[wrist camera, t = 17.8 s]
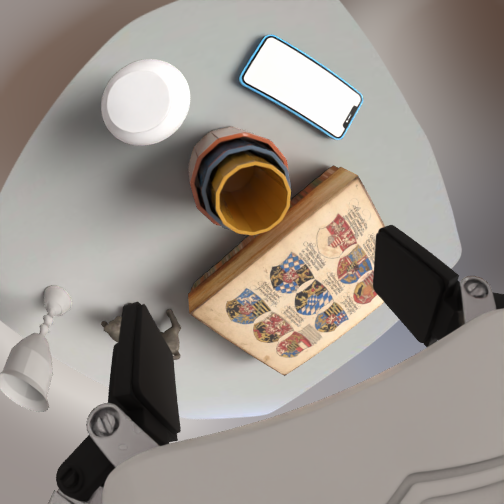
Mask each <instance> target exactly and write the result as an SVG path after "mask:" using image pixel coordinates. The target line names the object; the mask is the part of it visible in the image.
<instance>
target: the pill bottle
mask: <svg viewBox="0 0 504 504" xmlns="http://www.w3.org/2000/svg"><path fill="white" fill-rule="evenodd" d="M189 106H190V91H189V87H188V84H187V81H186V79H185V78H184V76H183V75H182V73H181V72H180V71H179V70H178V69H177V68H175V67H174V66H173V65H171V64H169V63H167V62H164V61H161V60H156V59H144V60H139V61H135V62H132V63H130V64H128V65H126V66H125V67H123V68H122V69H120V70H119V71H118V72H117V73H116V74H115V75H114V76H113V77H112V78H111V79H110V81H109V82H108V84H107V86H106V88H105V90H104V93H103V96H102V101H101V112H102V117H103V120H104V123H105V125H106V127H107V128H108V130H109V131H110V132H111V133H112V134H113V135H114V136H115V137H116V138H117V139H119V140H121V141H123V142H125V143H127V144H131V145H137V146H146V145H152V144H155V143H158V142H161V141H163V140H165V139H166V138H168V137H169V136H171V135H172V134H173V133H174V132H175V131H176V130H177V129H178V128H179V127H180V126H181V124H182V123H183V121H184V119H185V118H186V115H187V113H188V110H189Z"/></svg>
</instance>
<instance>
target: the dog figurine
mask: <svg viewBox="0 0 504 504" xmlns="http://www.w3.org/2000/svg"><path fill="white" fill-rule="evenodd" d="M129 304H132V303H129ZM167 315H168V316H169V317H170V320H171V323H172V327H171V328H169V329H168V330H166V331H165V332H164V333H163V332H160V333H161V334H162V336H163V338H164V340H165V341H166V343H167V345H168V346H169V348H170V350H171V352H172V355H175V356H173V360H177V359H179V358H180V354H179V352H178V350H179V337H178V333H179V331H180V329H181V327H180V325H179V323H178V322H177V319H176V317H175V316H174V314H173V311H172V310H167ZM121 319H122V317H121V316H117V317H116V318H115V320H113V321H110V322H109V324H107V322H105V321H102V322H101V325H102V326H103V327H104V331H105V332H107V333H108V334H109V336H110V337H111V338H112V339H113V340H114V341H116V342H118V340H119V333H120V326H121Z"/></svg>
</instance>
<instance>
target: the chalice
mask: <svg viewBox="0 0 504 504" xmlns="http://www.w3.org/2000/svg"><path fill="white" fill-rule="evenodd" d="M44 306H45V308H46V310H47V312H48V314H47V315H44V316H43V319H44V323H43V324H41V325H40V333H39V334H38V333H33V334H31V335H29V336H28V337H26V338H24V339H22V340H21V341H20V342H19V343H18V344H17V345H16V346H14V347H13V348H12V350H11V352H10V354H9V357H8V359H7V362H6V364H5V367H4V370H3V371H2V372H1V373H0V389H1V390H2V392H3V393H4V394H5V395H6V396H7V397H8V398H10V399H11V400H12V401H14V402H15V403H17V404H18V405H20V406H22V407H24V408H27V409H29V410H32V411H36V412H44V411H46V410H48V408H49V404H48V401H47V394H48V390H49V386H50V382H51V378H52V374H53V370H52V359H51V353H50V348H49V343H48V341H47V339H46V338H45V336H46V334H47V333H49V332H50V330H49V326H50V325H52V324H53V323H54V321H53V316H61V315H63V314H64V313H66V312H67V311H68V310H70V308H71V306H72V300H71V297H70V296H69V294H68V293H67V292H66V291H65V290H64V289H62V288H61V287H58V286H49V287H47V288H46V289H45V291H44Z"/></svg>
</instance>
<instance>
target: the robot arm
mask: <svg viewBox="0 0 504 504" xmlns="http://www.w3.org/2000/svg"><path fill="white" fill-rule="evenodd" d="M458 277H459V275H458V274H456V273H455V272H454V271H453V270H452V269H450V268H449V267H448V266H447V265H445V264H444V263H443V262H442V261H440V260H439V259H438V258H437V257H435V256H434V255H433V254H431V253H430V252H429V251H428V250H426V249H425V248H424V247H422V246H421V245H420V244H418V243H417V242H416V241H414V240H413V239H412V238H410V237H409V236H407V235H406V234H405V233H403V232H402V231H401V230H399V229H398V228H396V227H395V226H393V225H389V226H386V227H383V228H380V229H379V231H378V233H377V234H376V241H375V260H374V274H373V289H374V291H375V292H376V294H377V295H378V296H379V297H380V298H381V299H382V300H383V301H384V302H385V303H386V305H387V306H388V307H389V308H390V309H391V310H392V311H393V312H394V314H395V315H396V316H397V317H398V318H399V319H400V320H401V322H402V323H403V324H404V325H405V326H406V327H407V328H408V330H409V331H410V332H411V333H412V334H413V335H414V337H415V338H416V339H417V340H418V341H419V342H421V343H424V345H425V346H426V347H427V348H425V349H424V350H422V351H420V352H419V353H417V354H415V355H414V356H411V357H410V358H408V359H406V360H404V361H403V362H401V363H399V364H397V365H395V366H393V367H391V368H389V369H387V370H385V371H383V372H381V373H379V374H377V375H375V376H373V377H371V378H369V379H367V380H365V381H363V382H361V383H359V384H356V385H354V386H352V387H350V388H347V389H345V390H343V391H341V392H338V393H336V394H333V395H331V396H329V397H326V398H324V399H321V400H319V401H317V402H313V403H311V404H308V405H306V406H303V407H300V408H297V409H295V410H292V411H289V412H286V413H283V414H280V415H277V416H274V417H271V418H268V419H265V420H261V421H258V422H255V423H251V424H248V425H244V426H241V427H237V428H233V429H229V430H226V431H222V432H218V433H214V434H210V435H205V436H201V437H197V438H192V439H188V440H184V441H180V442H175V443H171V444H169V442H172V441H177V440H178V439H177V433H179V432H180V421H179V413H178V404H177V394H176V384H175V372H174V360H173V355H172V352H171V350H170V348H169V346H168V345H167V343H166V341H165V340H164V338H163V336H162V334H161V333H160V331H159V329H158V327H157V325H156V324H155V322H154V320H153V318H152V316H151V315H150V313H149V311H148V309H147V307H146V305H145V304H143V305H141V304H140V303H139V302H135V303H132V304H128V305H125V306H124V307H123V313H122V319H121V326H120V333H119V340H118V343H117V344H115V345H114V349H113V356H112V365H111V374H110V384H109V396H108V403H104V404H101V405H99V406H97V407H96V408H94V409H93V410H92V411H91V413H90V414H89V416H88V418H87V424H86V426H87V431H88V433H89V436H88V437H87V438H86V439H85V440H84V441H83V442H82V443H81V444H80V445H79V447H77V448H76V449H75V451H74V452H73V453H72V454H71V455H70V456H69V457H68V458H67V459H66V460H65V462H63V464H61V466H60V467H59V469H58V471H57V475H56V481H57V485H58V487H59V489H58V491H55V490H54V492H53V494H52V496H51V498H50V500H49V502H48V504H504V294H498V293H492V289H491V287H490V285H489V284H488V283H487V282H486V281H485V280H483V279H482V278H480V277H476V276H467V277H465V278H464V279H462V281H461V282H459V281H458ZM437 340H438V341H437Z"/></svg>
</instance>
